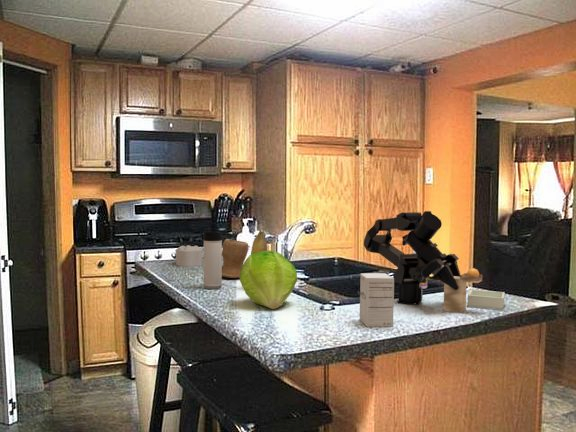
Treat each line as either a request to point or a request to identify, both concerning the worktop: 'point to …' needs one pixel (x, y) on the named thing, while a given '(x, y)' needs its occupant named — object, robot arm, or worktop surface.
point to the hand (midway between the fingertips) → (460, 288)
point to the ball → (473, 272)
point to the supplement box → (376, 299)
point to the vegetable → (259, 243)
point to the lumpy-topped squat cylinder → (188, 256)
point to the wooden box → (458, 293)
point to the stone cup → (233, 257)
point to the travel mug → (212, 260)
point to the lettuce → (268, 278)
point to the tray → (486, 299)
